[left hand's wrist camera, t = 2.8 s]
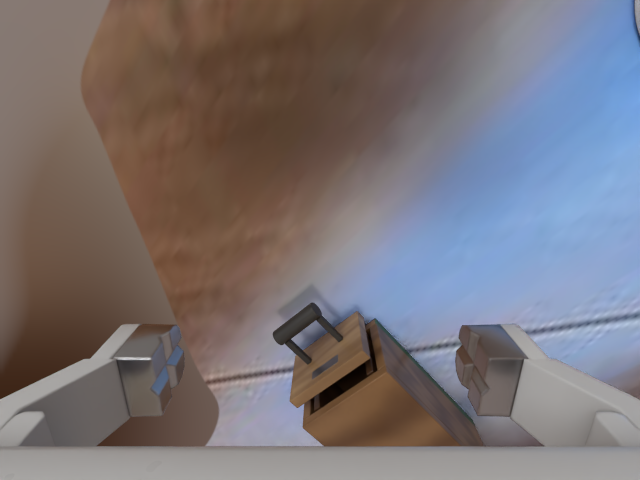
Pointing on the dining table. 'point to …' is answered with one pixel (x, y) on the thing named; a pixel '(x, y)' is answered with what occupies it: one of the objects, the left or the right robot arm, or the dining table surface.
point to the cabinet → (391, 406)
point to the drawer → (327, 357)
